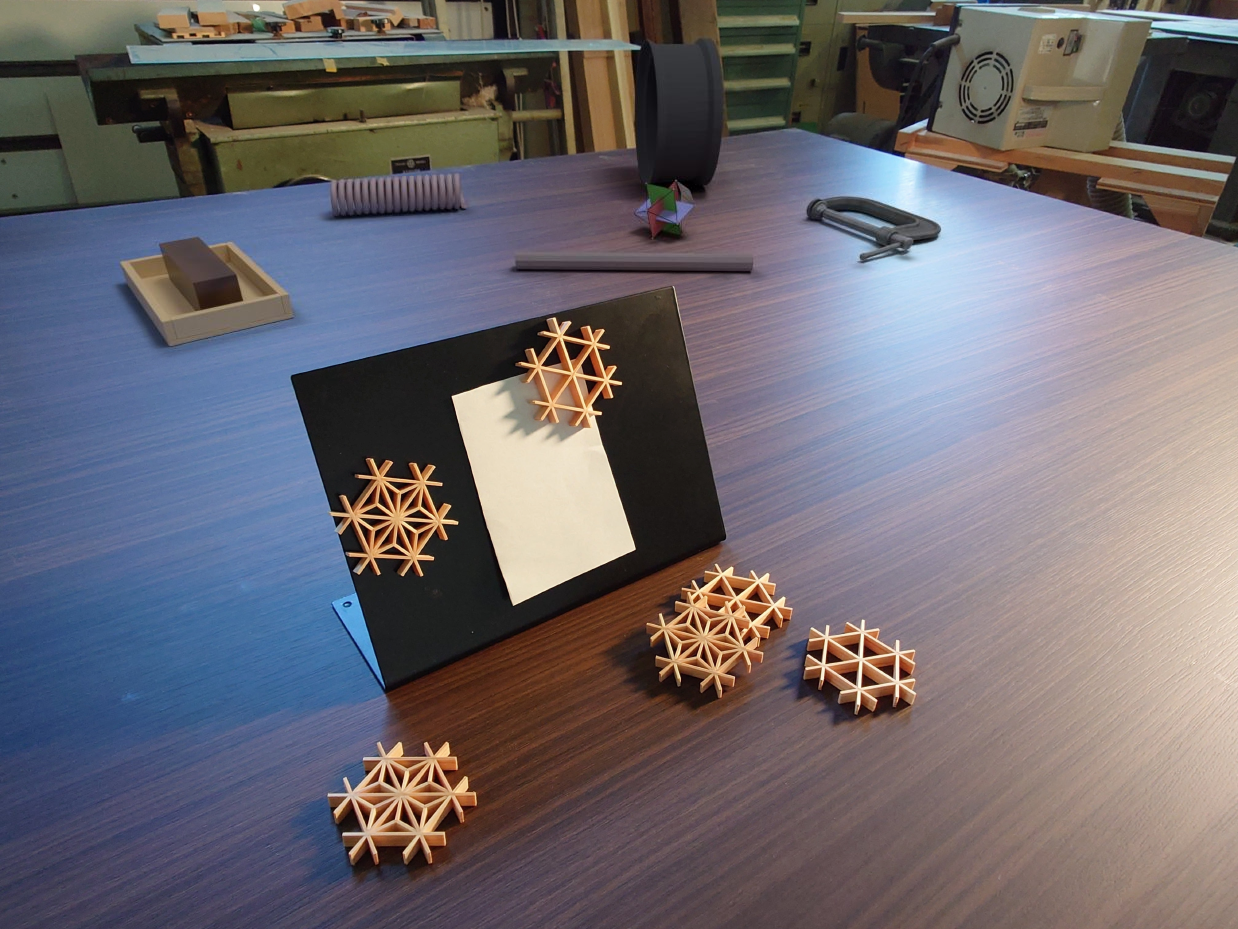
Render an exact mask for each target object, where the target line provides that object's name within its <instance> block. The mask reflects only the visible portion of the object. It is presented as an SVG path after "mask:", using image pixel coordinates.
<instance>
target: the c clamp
mask: <svg viewBox="0 0 1238 929" xmlns="http://www.w3.org/2000/svg"><path fill="white" fill-rule="evenodd" d="M837 210H850V211H856V212H861V213H864V214H865V213H866V214H868V215H871V216H874V217H876V218H878V219H881V220H884V221H887V222H890V223H892V224H895V225H897V226H894V227H889V226H886V225H882V226H881V227H879V226H877V225H873V224H871V223H868V222H866V221H863V220H860V219H857V218H855V217H852V216H849V215H847V214H844V213H841V212H838V211H837ZM805 211H806V216H807V217H808V219H811V220H820V219H823V218H824V219H825V220H827V221H829V222H832V223H835V224H837V225H839V226H843V227H845V228H847V229H850V230H853V231H854V232H855V231H856V232H857V233H861V234H863V235H866V236H869V237H870V238H873V239H875V242H876V243H878V244H880V245H882V246H883V247H880V248H877V249H873V250H871V251H868V252H867V251H866V252H861V253H860V254H859V257H858V258H859V260H860V261H861V262H863V261H866V260H868V259H870V258H873V257H875V256H879V255H882V254H884V253H887V252H891V251H894V250H897V249H902V250H905V251H907V250H910V248H911V247H912V245H913V244H914V240H915V241H916V240H923V239H929V238H934V237H936V236H939V235H940V233H941V231H942V227H941V225H940V224H939V223H938V222H936V221H934V220H932V219H930V218H927V217H924V216H920V215H918V214H915V213H913V212H909V211H907V210H904V209H901V208H898V207H895V206H892V205H889V204H887V203H884V202H882V201H878V200H874V199H872V198H871V199H870V198H866V197H862V196H861V197H859V196H849V195H840V196H832V197H826V198H822V199H821V198H818V197H817V198H814V199H812V200H811V201H810V202H809V203H808V204H807V207H806V210H805Z"/></svg>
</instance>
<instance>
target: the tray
mask: <svg viewBox="0 0 1238 929" xmlns="http://www.w3.org/2000/svg"><path fill="white" fill-rule="evenodd" d="M207 246H208V247H209V248H210V249H211V250H212V251H213V252H214V253H215V254H216V255H217V256H218V257H219V258H220V259H221V260H222V261H223V262H224V263H225V264H226V265H227V266H229V267H230V268H231V269H232V270H233V271H234V272H235V273H236V275H237V278H238V282H239V286H240V290H241V294H242V298H243V301H242V302H237V303H232V304H228V305H223V306H219V307H214V308H209V309H205V310H200V311H195V310H194V308H193V307H192V306H191V305H190V304H189V302H188V301H187V300H186V299H185V297H184V296H183V295H182V294H181V293H180V291H179V290H178V289H177V288H176V286H175V285H174V284H173V283H172V281H171V280H170V279H169V275H168V272H167V269H166V266H165V262H164V259H163V256H162V253H161V254H156V255H150V256H144V257H139V258H133V259H128V260H122V261H119V264H120V267H121V271H122V273H123V277H124V280H125V282H126V285H127V286H128V288H129V289H130V291H131V292H132V293H133V295H134V296H135V298H136V299H137V301H138V302H139V304H140V305H141V307H142V308H143V309H144V311H145V313H146V314H147V315H148V317H149V318H150V320H151V322H152V323H153V324H154V326H155V327H156V329H157V330H158V332H159V333H160V334H161V336H162V338H163V339H164V341H165V342H166V344H167V345H168V346H169V347H174V346H179V345H182V344H183V345H184V344H187V343H191V342H195V341H200V340H204V339H208V338H213V337H217V336H221V335H225V334H230V333H233V332H238V331H243V330H246V329H251V328H254V327H258V326H259V327H260V326H263V325H268V324H271V323H276V322H280V321H285V320H289V319H292V318H293V319H294V318H295V315H294V311H293V306H292V301H291V298H290V294H289V293H288V292H287V291H286V290H285V289H284V288H283V287H282V286H281V285H279V283H277V282H276V281H275V280H274V279H273V278H272V277H271V276H270V275H268V273H266V271H264V270H263V269H262V268H261V267H260V266H259V265H258V264H257V263H255V261H254V260H252V259H251V258H250V257H249V256H248V255H247V254H246V253H245V252H244V251H242V250H241V249H240V248H239V247H238V246H237V245H236V244H235V243H234V242H233V241H227V242H221V243H215V244H210V245H207Z"/></svg>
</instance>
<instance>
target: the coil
mask: <svg viewBox="0 0 1238 929" xmlns="http://www.w3.org/2000/svg"><path fill="white" fill-rule="evenodd" d="M329 186H330V187H329V194H330V205H331V212H332V215H333V216H334V217H338V216H339V213H340V215H341V216H346V215H347V213H348V215H349V216H353V215H354V214H356V215H357V216H360V215H362V213H363V214H365V215H368V214H370V213H371V214H373V215H375V214H377V213H378V212H379V214H384V213H385V211H386V213H388V214H391V213H392V212H393V211H394V212H395V213H396V214H397V213H400V211H401V212H403V213H407V211H408V210H409V211H410V212H415V210H417V211H418V212H422V211H423V209H424V211H427V212H428V211H430V210H433V211H437V210H438V209H439V210H441V211H443V210H445V208H446V209H447V210H452V208H454V209H456V210H459V209H460V207H461V208H462V209H466V208H467V207H468V204H467V203H466V201H465V197H464V194H463V188H462V182H461V176H460V174H459V173H457V172H456V173H454V174H451V173H447V174H446V176H445V174H443V173H440V174H439V175H436V174H435V173H434V174H432V175H431V176H430V175H429V174H425V175H424V176H422V175H421V174H418V175H417V176H414V175H410V176H408V177H407V176H406V175H402V176H401V178H400V177H399V176H394V177H393V178H392V177H391V176H387V177H386V178H384V177H383V176H380V177H378V179H377V178H376V177H370V179H369V178H368V177H364V178H362V179H361V178H359V177H358V178H355V179H352V178H348V179H347V181H346V180H345V179H344V178H340V179H339V181H338V180H337V179H332V180H331V182H330V185H329Z"/></svg>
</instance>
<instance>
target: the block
mask: <svg viewBox="0 0 1238 929" xmlns="http://www.w3.org/2000/svg"><path fill="white" fill-rule="evenodd" d="M158 246H159V249H160V253H161V254H162V256H163V259H164V262H165V266H166V269H167V272H168V275H169V279H170V280H171V281H172V283H173V284H174V285H175V286H176V288H177V289H178V290H179V291H180V293H181V294H182V295H183V296H184V297H185V299H186V300H187V301H188V302H189V304H190V305H191V306H192V307H193V308H194V310H195V311H200V310H205V309H209V308H214V307H219V306H223V305H228V304H232V303H237V302H242V301H243V298H242V294H241V290H240V286H239V282H238V278H237V275H236V273H235V272H234V271H233V270H232V269H231V268H230V267H229V266H227V265H226V264H225V263H224V262H223V261H222V260H221V259H220V258H219V257H218V256H217V255H216V254H215V253H214V252H213V251H212V250H211V249H210V248H209V247H208V246H209V245H208V244H206V243H205V242H204V241H203V240H202V239H201V238H200V237H199V236H194V237H189V238H183V239H177V240H172V241H166V242H160V243H158Z"/></svg>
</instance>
